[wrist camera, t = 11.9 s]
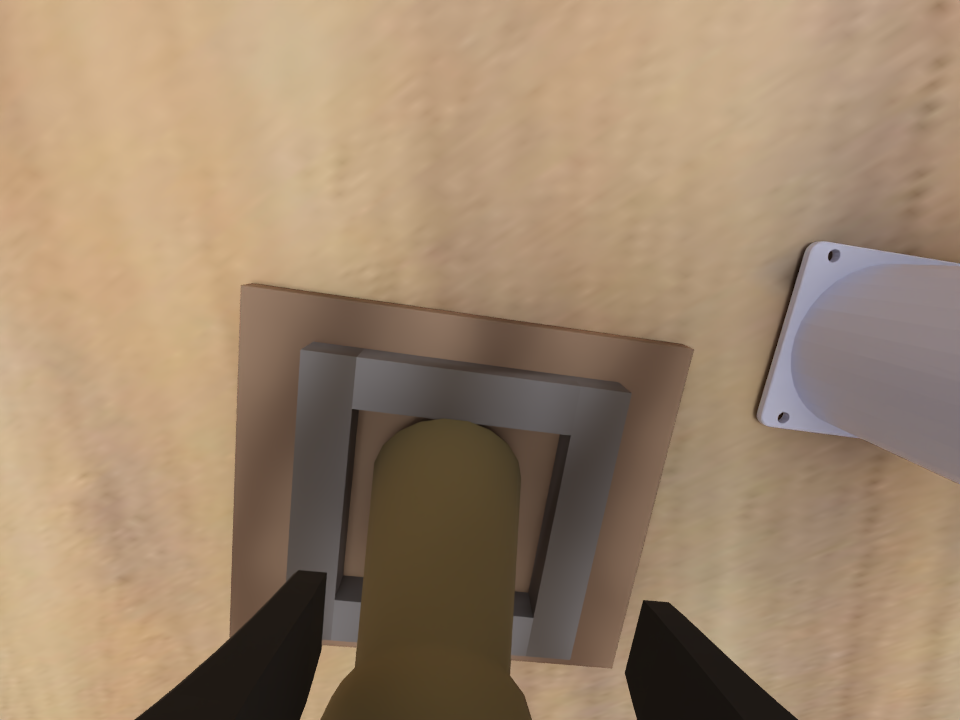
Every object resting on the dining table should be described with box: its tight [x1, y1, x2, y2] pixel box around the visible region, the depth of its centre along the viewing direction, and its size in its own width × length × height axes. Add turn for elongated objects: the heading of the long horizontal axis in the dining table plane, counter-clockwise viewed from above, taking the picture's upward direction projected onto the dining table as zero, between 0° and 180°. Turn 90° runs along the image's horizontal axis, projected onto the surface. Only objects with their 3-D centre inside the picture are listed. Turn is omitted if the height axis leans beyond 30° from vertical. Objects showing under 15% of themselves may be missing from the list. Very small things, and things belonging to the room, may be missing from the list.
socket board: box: [230, 283, 694, 668], centre depth 20 cm, size 18×16×2 cm
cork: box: [321, 419, 532, 720], centre depth 14 cm, size 6×6×11 cm
